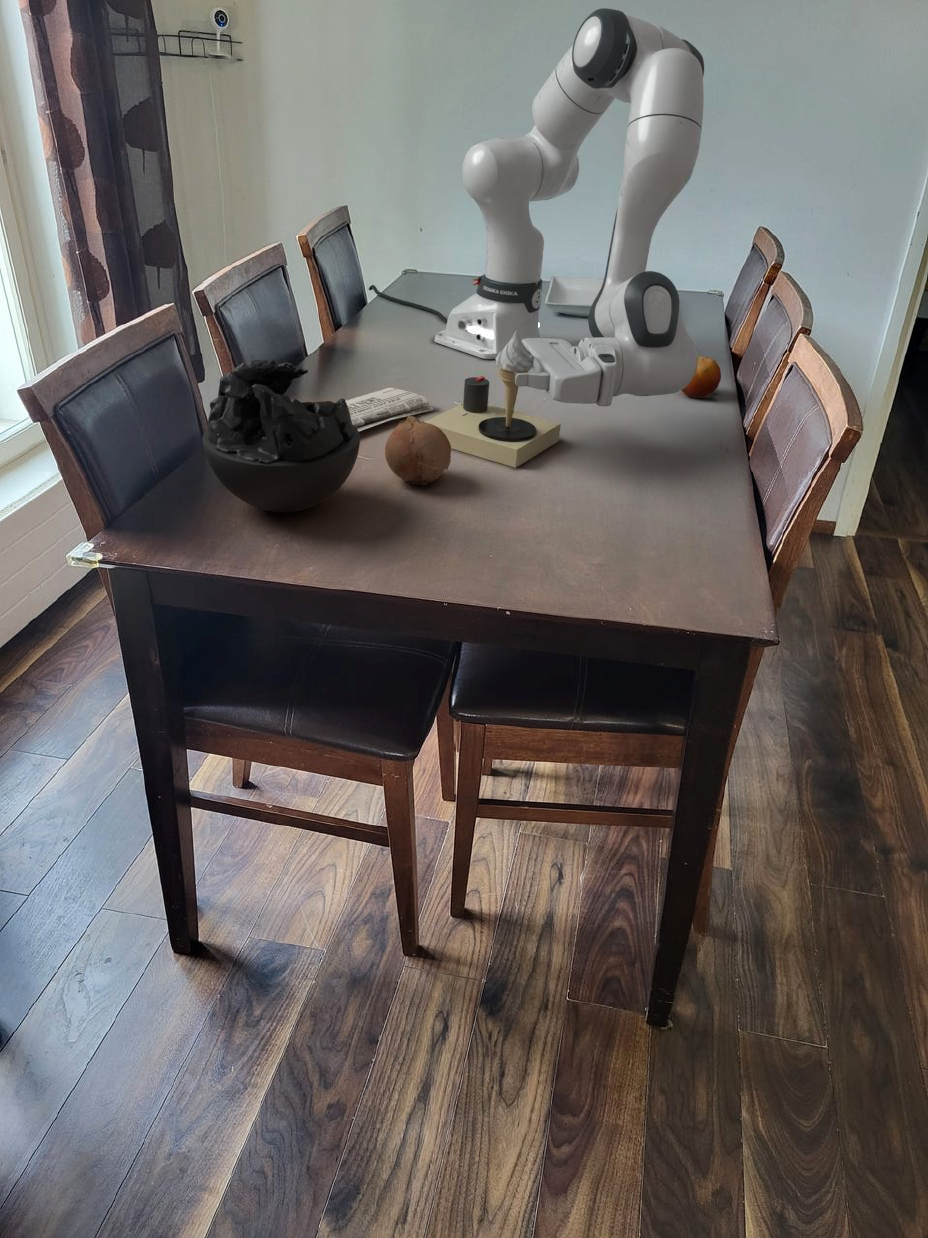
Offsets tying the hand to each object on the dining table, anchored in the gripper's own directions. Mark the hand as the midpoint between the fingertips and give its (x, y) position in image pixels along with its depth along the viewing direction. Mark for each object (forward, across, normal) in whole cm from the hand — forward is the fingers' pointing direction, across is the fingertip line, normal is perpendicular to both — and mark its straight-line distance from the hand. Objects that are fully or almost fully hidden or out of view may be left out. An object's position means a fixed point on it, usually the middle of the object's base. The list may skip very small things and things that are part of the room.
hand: (506, 368), depth 139 cm
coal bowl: (+34, +17, +13) cm, 40 cm away
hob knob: (+2, -10, +10) cm, 14 cm away
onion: (+15, +10, +13) cm, 22 cm away
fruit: (-44, -23, +13) cm, 51 cm away
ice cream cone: (-1, 0, +9) cm, 9 cm away
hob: (0, -4, +13) cm, 13 cm away
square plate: (-47, -84, +13) cm, 98 cm away
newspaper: (+19, -15, +13) cm, 28 cm away
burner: (-1, 0, +10) cm, 10 cm away
